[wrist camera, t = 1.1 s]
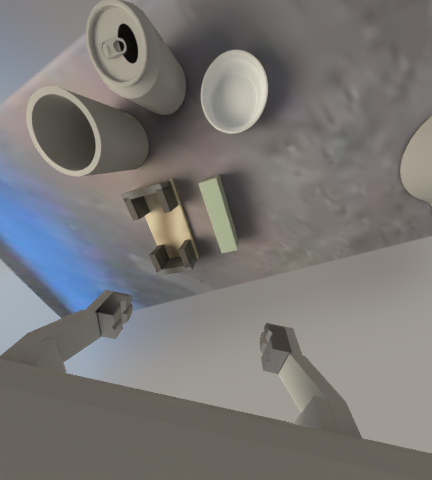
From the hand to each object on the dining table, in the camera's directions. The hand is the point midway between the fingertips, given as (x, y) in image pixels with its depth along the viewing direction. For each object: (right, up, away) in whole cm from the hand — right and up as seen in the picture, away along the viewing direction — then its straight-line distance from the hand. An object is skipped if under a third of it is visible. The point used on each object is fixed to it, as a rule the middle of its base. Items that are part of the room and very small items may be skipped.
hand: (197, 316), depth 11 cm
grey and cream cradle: (-9, +8, +27) cm, 29 cm away
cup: (-15, +22, +21) cm, 34 cm away
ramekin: (+4, +26, +17) cm, 31 cm away
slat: (+2, +10, +24) cm, 27 cm away
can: (-7, +28, +17) cm, 34 cm away
